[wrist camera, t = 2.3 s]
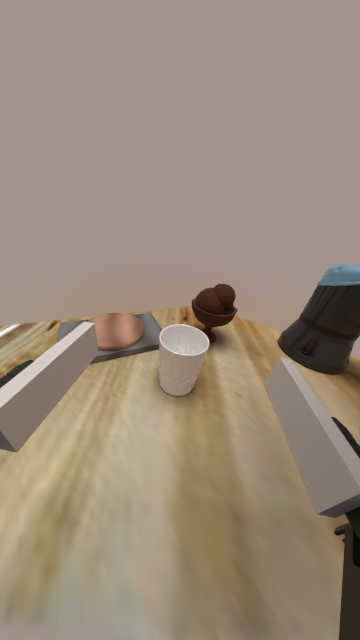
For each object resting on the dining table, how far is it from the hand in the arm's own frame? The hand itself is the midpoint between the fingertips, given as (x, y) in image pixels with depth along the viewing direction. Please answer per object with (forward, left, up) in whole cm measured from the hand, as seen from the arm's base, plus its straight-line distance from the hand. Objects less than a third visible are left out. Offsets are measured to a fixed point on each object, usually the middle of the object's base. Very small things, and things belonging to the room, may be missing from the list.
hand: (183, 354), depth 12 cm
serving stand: (+16, -21, -17) cm, 31 cm away
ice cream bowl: (-6, -28, -17) cm, 33 cm away
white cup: (0, -12, -17) cm, 21 cm away
